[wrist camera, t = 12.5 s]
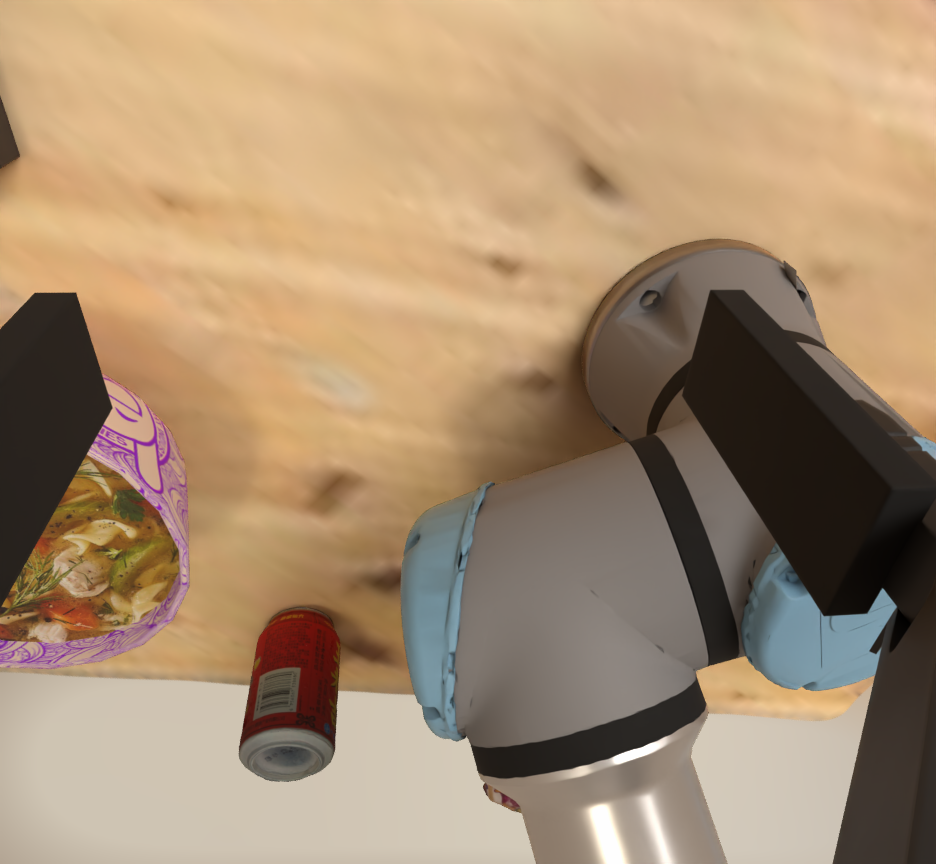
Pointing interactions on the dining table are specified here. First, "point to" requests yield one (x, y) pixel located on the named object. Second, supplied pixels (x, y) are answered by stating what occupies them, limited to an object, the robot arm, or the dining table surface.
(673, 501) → the robot arm
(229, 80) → the dining table surface
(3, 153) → the tv remote
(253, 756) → the soda can
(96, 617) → the bowl of food
